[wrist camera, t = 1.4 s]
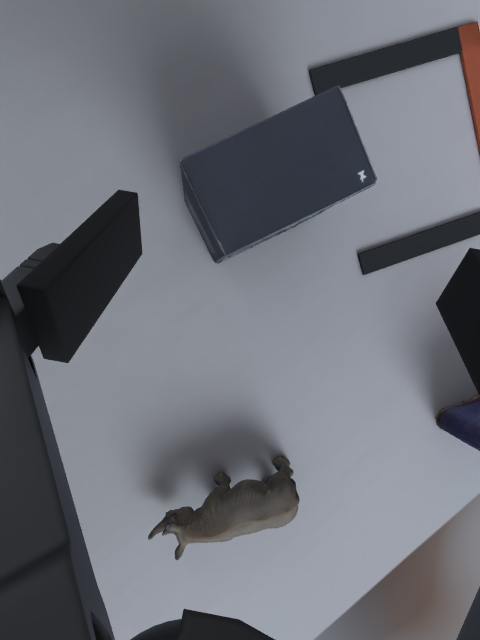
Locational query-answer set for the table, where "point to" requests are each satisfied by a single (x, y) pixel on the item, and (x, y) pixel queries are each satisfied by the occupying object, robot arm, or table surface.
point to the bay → (466, 40)
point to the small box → (275, 174)
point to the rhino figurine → (235, 509)
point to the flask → (462, 421)
